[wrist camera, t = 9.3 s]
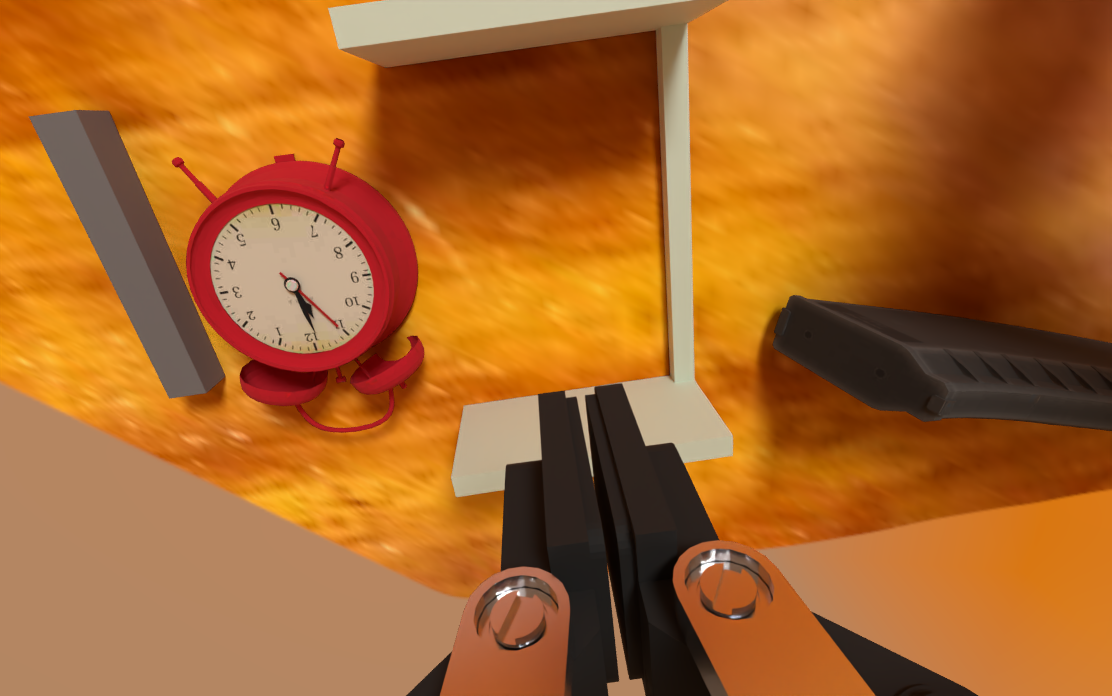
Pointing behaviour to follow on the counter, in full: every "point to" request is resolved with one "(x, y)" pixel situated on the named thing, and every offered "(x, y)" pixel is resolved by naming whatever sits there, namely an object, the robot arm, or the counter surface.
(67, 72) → the counter surface
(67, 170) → the rail
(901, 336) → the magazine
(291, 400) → the alarm clock
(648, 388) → the shelf bay
